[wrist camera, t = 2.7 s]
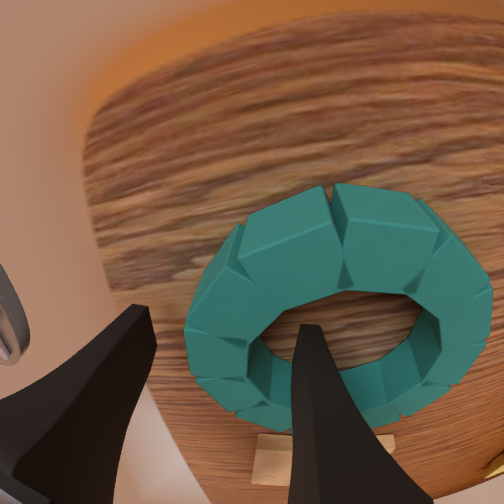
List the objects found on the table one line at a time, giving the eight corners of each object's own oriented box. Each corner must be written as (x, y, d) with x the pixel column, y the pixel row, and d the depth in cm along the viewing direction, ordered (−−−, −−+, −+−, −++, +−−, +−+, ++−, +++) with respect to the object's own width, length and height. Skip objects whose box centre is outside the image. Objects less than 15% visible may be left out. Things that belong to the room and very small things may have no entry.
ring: (209, 382, 14) (200, 424, 12) (195, 170, 9) (167, 203, 7) (409, 392, 14) (417, 430, 12) (502, 211, 8) (539, 247, 6)
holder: (252, 471, 22) (242, 544, 16) (258, 432, 17) (245, 538, 11) (353, 473, 21) (354, 543, 15) (393, 433, 16) (403, 529, 10)
